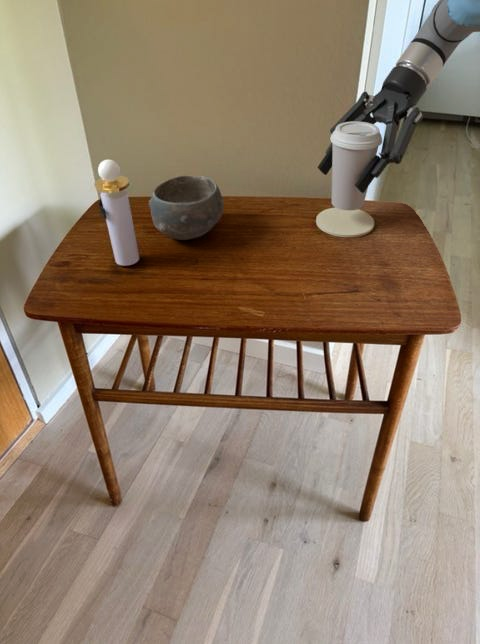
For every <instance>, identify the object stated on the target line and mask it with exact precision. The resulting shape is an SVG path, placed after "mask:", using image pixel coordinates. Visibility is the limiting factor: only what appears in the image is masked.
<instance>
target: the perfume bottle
mask: <svg viewBox="0 0 480 644" xmlns="http://www.w3.org/2000/svg"><path fill="white" fill-rule="evenodd" d="M97 173H98V176H99V177H100V178H98V179H97V180H95V181H94V184H93V185H94V190H95V191H97V192H99V193H100V196H99V201H98V207H99V212H100V215H101V217H102V219H104V222H105V223H106V226H107V230H108V234H109V240H110V243H111V249H112V252H113V257H114V261H115V263H116V264H117V265H119V266H123V267H127V266H131V265H134V264H136V263H138V261H139V260H140V253H139V247H138V242H137V235H136V231H135V225H134V220H133V215H132V210H131V205H130V199H129V194H128V190H127V188H129V186H130V180H129V178H128V177H127V176H124V175H121V167H120V165H119V164H118V162H116V161H115V160H113V159H111V158H110V159H104V160H102V161H101V162H99V164H98V167H97Z"/></svg>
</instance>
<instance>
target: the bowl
mask: <svg viewBox="0 0 480 644" xmlns="http://www.w3.org/2000/svg"><path fill="white" fill-rule="evenodd" d="M220 190H221V189H220V188H219V186H218V184H217V183H216V181H215V180H213V179H212V178H210V177H207V176H203V175H193V174H187V175H180V176H175V177H172V178H169V179H167V180H165V181H163V182H161V183H159V185H157V186H156V187H155V188H154V190H153V191H152V195H151V197H150V199H149V200H148V206H149V209H150V215H151V216H150V217H151V220H152V223H153V226H154V227H155V229H157V230H158V231H159V232H161V234H163V235H164V236H166V237H168V238H171V239H174V240H177V241H178V240H179V241H189V240H192V239H196V238H201V237H202V236H204V235H205V234H207V233H208V232H210V231H211V230H212V229H213V228H214V227H215V226H216V224H217V223H218V222H219V221H220V219H221V218H222V216H223V213H224V199H225V198H223V196H222V193H221V191H220Z"/></svg>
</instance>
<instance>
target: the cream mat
mask: <svg viewBox="0 0 480 644" xmlns="http://www.w3.org/2000/svg"><path fill="white" fill-rule="evenodd" d="M315 223H316V226H317V227H318V229H319V230H321V231H322V232H324V233H325V234H328V235H331V236H334V237H339V238H348V239H349V238H359V237H362V236H365V235H367V234H370V232H372V231H373V229H374V226H375V220H374V218H373V217H372V216H371V215H370V214H369V213H367V212H366V211H363V210H361V209H357V210H341V209H338V208H336V207H334V206H333V207H329V208H325V209H324V210H322V211H321V212H319V213H318V214H317V216H316V219H315Z"/></svg>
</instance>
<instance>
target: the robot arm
mask: <svg viewBox="0 0 480 644" xmlns="http://www.w3.org/2000/svg"><path fill="white" fill-rule="evenodd" d="M473 33H480V0H438V1H437V3H436V4H434V6H433V7H432V9H431V12H430V13H429V15H428V16H427V18H426V19H425V20H424V22H423V24H422V25H421V27H420V28H419V29H418V32H417V33H416V34H415V35H414V37H413V39H412V40H411V41H410V43H409V44H408V45H407V47H406V48H405V50H404V51H403V53H402V54H401V55H400V57H399V59H397V61H396V63H395V66H394V67H392V69H391V70H390V72H389V73H388V75H387V76H386V78H385V79H384V80H383V82H382V86H381V89H380V90H379V91H378V92H377V93H376V94H374V95H371V94H369V93H368V92H367V91H363V92H362V93H361V94H360V96H359V97H358V100H357V101H356V102H355V103H354V104H353V105H352V107H350V109H349V110H347V111H346V112H345V114H343V116H342V117H341V118H340V119H339V120H338V121H337V122H336V123H335V124H333V126H332V127H331V128H330V130H329V132H330V134H331V135H332V133H333V132H334V131H335V129H336V127H337V125H339V124H341V123H345V122H353V121H358V122H367V123H371V124H374V125H376V124H377V123H378V124H384V125H385V129H384V136H383V139H382V144H381V152H378V154H379V155H380V156H379V155H378V154H376V155H375V157H374V158H373V160H372V161H371V163H370V164H369V165H368V167H367V168H366V170H365V171H364V173H363V174H362V175H361V177H360V178H359V180H358V181H357V183H356V184H355V186H356V187H357V188H358V190H359V191H360V192H362V193H364V192H365V190H366V189H367V188H368V189H369V186H370V185H371V183H372V182H373V181H374V179H375V178H376V179H378V178H379V177H380V176H381V175H382V173H383V172H384V170H385V169H386V167H387V166H388V165H390V164H395V165H399V164H401V162H402V161H403V158H404V156H405V153H406V152H407V150H408V146H409V144H410V142H411V139H412V137H413V135H414V133H415V130H416V128H417V127H418V125H419V124H420V123H421V122H422V120H423V119H424V115H423V113H422V112H421V110H420V108H419V107H416V106H417V104H418V103H419V101H420V100H421V99H422V97H423V96H424V95H425V94H426V91H427V88H429V86H431V84H432V83H433V81H434V80H435V79H436V77H437V76H438V74H439V72H440V71H441V69H443V67H444V66H445V64H446V62H447V61H448V60H449V58H450V57H451V56H452V54H453V53H454V51H455V50H456V49H457V47H458V46H459V45H460V44H461V43H462V42H464V40H466V39H468V37H469V36H471V35H472V34H473ZM413 107H414V108H413ZM404 118H405V120H404V122H403V124H402V127H401V129H400V125H401V120H403V119H404ZM399 129H400V130H399ZM398 132H399V134H398V136H397V133H398ZM332 154H333V143H332V142H331V143H330V144H329V146H328V147H327V149H326V150H325V155H324V157H323V158H322V160H321V161H320V163H319V164H318V166H317V169H318V170H319V171H320V172H321V173H322V174H323V175H325V176H327V175H328V173H329V172H330V170H332ZM368 189H367V190H368Z"/></svg>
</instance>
